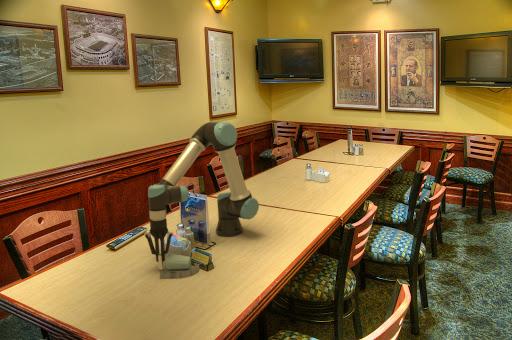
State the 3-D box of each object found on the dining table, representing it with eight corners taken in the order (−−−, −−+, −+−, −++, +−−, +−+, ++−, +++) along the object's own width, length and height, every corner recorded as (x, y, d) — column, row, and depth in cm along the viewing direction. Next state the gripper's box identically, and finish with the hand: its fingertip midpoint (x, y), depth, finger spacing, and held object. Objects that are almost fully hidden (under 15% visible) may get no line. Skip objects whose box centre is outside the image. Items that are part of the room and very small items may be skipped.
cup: (187, 271, 202) (165, 270, 203) (191, 270, 210) (170, 269, 211) (188, 255, 203) (166, 253, 205) (192, 254, 211) (171, 253, 212)
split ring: (201, 263, 215) (201, 258, 215) (195, 277, 197) (195, 272, 197) (168, 264, 215) (168, 260, 215) (160, 278, 197) (159, 273, 197)
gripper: (173, 216, 207) (176, 265, 210) (146, 217, 207) (149, 265, 210) (170, 220, 199) (173, 270, 202) (141, 221, 200) (145, 271, 202)
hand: (161, 268), depth 206 cm, fingers closed
